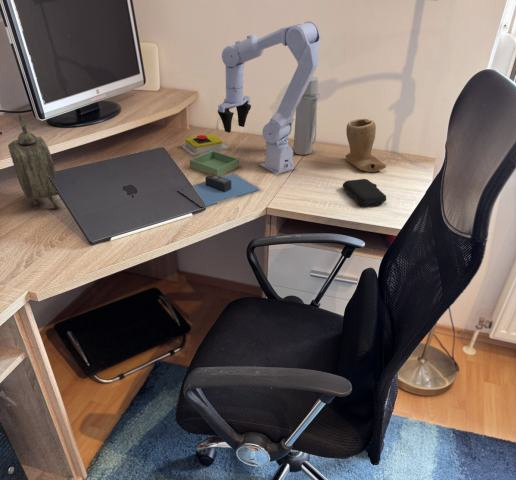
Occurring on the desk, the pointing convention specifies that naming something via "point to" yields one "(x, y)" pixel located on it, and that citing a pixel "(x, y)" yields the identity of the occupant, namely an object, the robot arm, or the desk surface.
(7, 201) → the desk surface
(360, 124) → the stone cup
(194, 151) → the emergency button
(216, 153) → the caddy
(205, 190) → the mat
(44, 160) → the ribbed olive figurine
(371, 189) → the carrying case
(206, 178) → the remote
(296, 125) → the water bottle
